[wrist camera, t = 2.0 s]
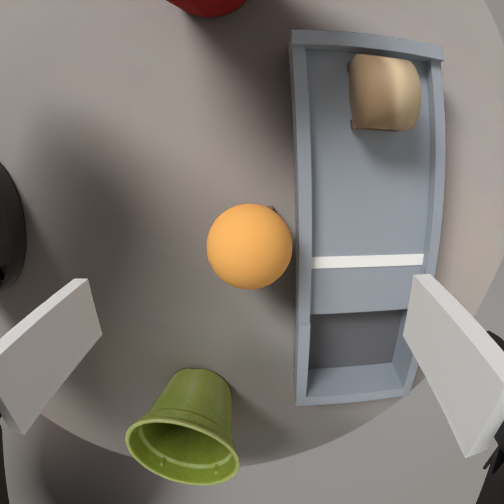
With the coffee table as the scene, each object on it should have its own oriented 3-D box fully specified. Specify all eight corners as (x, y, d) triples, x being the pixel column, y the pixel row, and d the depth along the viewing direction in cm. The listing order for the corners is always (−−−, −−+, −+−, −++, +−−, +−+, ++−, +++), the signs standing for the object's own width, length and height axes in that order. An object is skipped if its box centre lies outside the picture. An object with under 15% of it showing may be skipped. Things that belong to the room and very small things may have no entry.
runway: (293, 375, 28) (295, 406, 24) (288, 47, 19) (291, 29, 15) (396, 367, 27) (409, 395, 23) (418, 58, 18) (442, 46, 15)
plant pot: (139, 388, 30) (109, 449, 22) (183, 334, 27) (152, 402, 19) (213, 430, 31) (200, 494, 23) (267, 386, 28) (264, 459, 20)
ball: (217, 270, 22) (203, 304, 18) (211, 198, 21) (193, 215, 16) (290, 269, 22) (294, 303, 17) (289, 195, 20) (294, 212, 16)
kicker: (350, 129, 18) (370, 125, 14) (346, 63, 17) (365, 44, 13) (394, 131, 18) (423, 130, 14) (390, 67, 17) (417, 52, 13)
